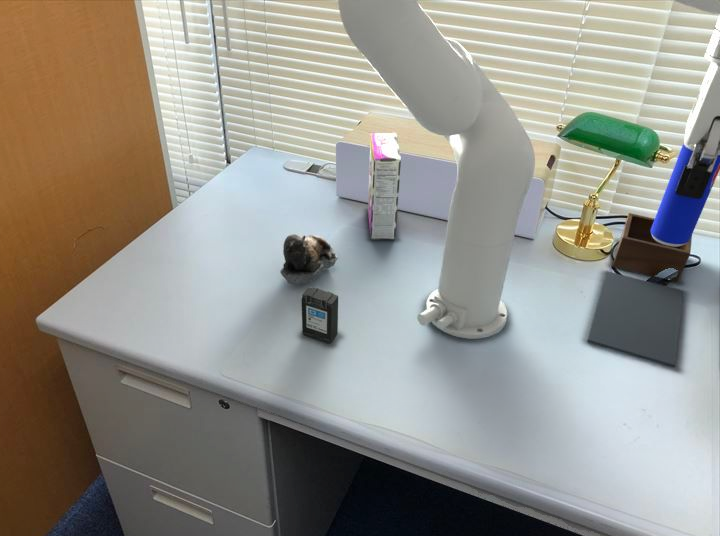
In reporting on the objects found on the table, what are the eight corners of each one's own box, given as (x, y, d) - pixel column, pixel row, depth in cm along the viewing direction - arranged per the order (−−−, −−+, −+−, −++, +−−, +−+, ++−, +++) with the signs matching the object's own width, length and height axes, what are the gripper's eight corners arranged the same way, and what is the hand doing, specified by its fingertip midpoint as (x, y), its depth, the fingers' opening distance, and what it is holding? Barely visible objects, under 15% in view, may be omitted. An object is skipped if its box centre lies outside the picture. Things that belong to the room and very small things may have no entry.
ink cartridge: (301, 335, 95) (300, 293, 90) (308, 326, 97) (308, 285, 92) (330, 345, 94) (331, 303, 89) (337, 336, 95) (338, 294, 90)
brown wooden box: (677, 283, 106) (690, 253, 102) (612, 266, 110) (622, 237, 106) (680, 255, 112) (693, 226, 109) (619, 241, 116) (628, 212, 112)
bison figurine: (309, 253, 113) (308, 203, 107) (344, 263, 110) (345, 213, 104) (274, 288, 105) (271, 236, 99) (311, 300, 102) (310, 248, 96)
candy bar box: (366, 210, 125) (370, 132, 115) (391, 210, 125) (397, 132, 115) (368, 240, 116) (373, 158, 106) (395, 240, 116) (402, 158, 106)
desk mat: (674, 367, 90) (675, 365, 89) (586, 342, 94) (587, 339, 94) (682, 292, 104) (683, 290, 103) (605, 273, 108) (606, 271, 108)
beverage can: (692, 250, 88) (736, 149, 78) (653, 245, 88) (692, 145, 79) (683, 230, 92) (724, 133, 82) (645, 227, 92) (682, 129, 83)
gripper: (710, 26, 81) (663, 156, 92) (706, 63, 69) (653, 208, 80) (777, 33, 78) (720, 167, 90) (785, 73, 66) (718, 222, 78)
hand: (689, 185), depth 85 cm, fingers closed on beverage can, 5 cm apart
